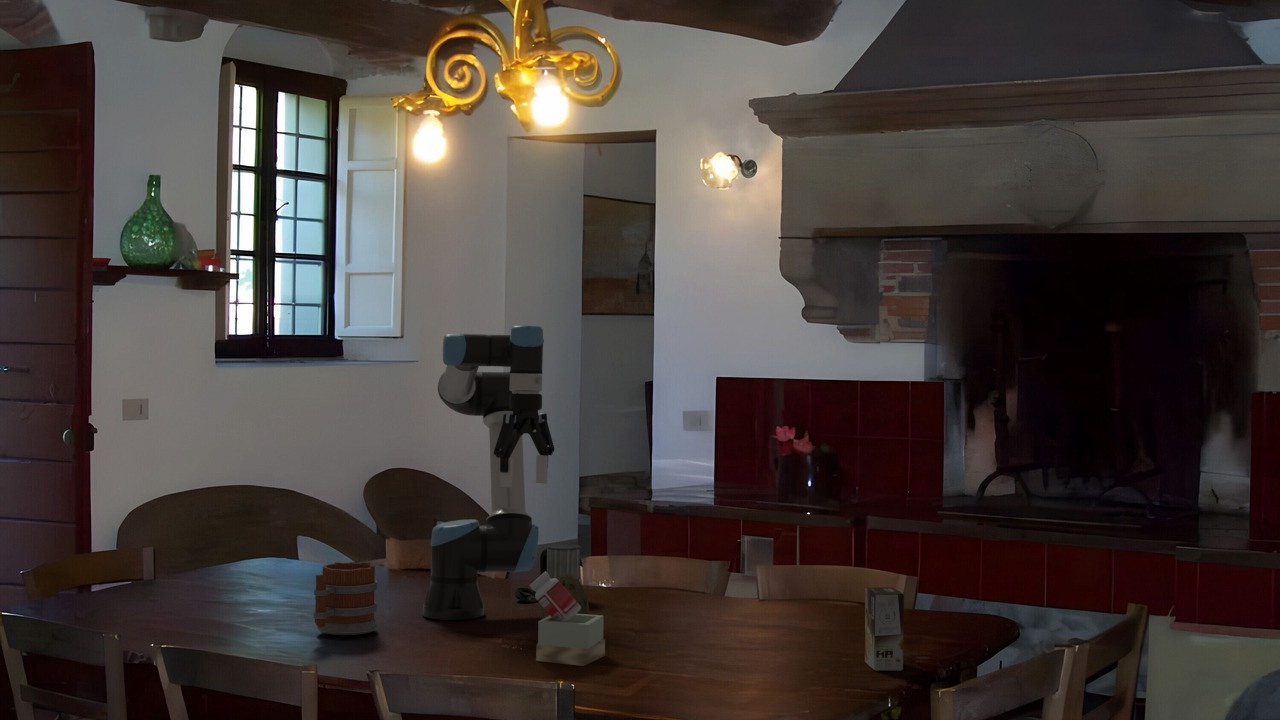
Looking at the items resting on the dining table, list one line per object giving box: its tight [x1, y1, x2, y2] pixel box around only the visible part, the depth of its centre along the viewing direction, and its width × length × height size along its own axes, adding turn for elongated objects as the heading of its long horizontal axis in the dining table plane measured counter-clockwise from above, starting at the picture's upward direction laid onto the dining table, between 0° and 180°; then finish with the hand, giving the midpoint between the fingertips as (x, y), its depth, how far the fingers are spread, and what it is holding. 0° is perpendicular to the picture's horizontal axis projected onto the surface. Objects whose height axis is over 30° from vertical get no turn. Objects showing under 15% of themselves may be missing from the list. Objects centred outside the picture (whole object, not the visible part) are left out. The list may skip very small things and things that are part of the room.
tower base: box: [535, 638, 606, 667], centre depth 285 cm, size 11×11×4 cm
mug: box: [313, 561, 379, 636], centre depth 310 cm, size 14×19×15 cm
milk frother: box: [514, 543, 582, 604], centre depth 353 cm, size 14×16×15 cm
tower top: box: [537, 614, 604, 649], centre depth 285 cm, size 11×11×5 cm
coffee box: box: [864, 586, 905, 672], centre depth 282 cm, size 9×6×16 cm
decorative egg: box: [541, 574, 590, 620], centre depth 304 cm, size 11×11×15 cm
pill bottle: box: [529, 571, 581, 622], centre depth 285 cm, size 6×6×11 cm
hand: (524, 485), depth 307 cm, fingers open, 13 cm apart
